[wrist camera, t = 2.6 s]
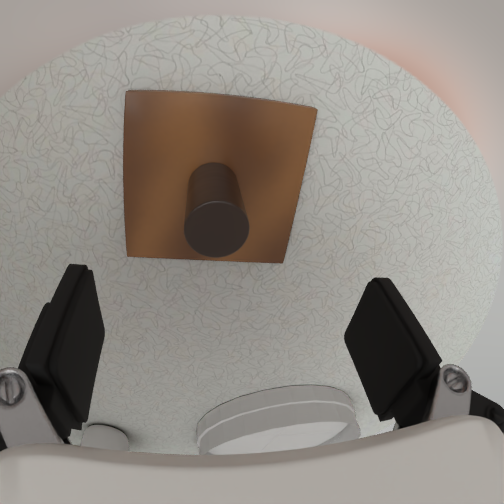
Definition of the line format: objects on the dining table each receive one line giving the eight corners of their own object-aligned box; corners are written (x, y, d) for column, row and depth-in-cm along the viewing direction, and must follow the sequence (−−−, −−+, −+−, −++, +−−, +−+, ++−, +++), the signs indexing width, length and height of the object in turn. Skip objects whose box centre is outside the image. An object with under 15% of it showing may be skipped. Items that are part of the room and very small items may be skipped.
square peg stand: (129, 250, 21) (111, 313, 16) (128, 89, 16) (94, 104, 10) (280, 257, 24) (303, 318, 18) (313, 107, 18) (358, 129, 13)
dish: (381, 383, 38) (394, 413, 34) (308, 450, 49) (314, 473, 45) (218, 379, 31) (223, 421, 27) (183, 450, 42) (185, 478, 38)
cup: (110, 449, 41) (108, 491, 34) (67, 432, 37) (61, 476, 30) (143, 433, 38) (142, 483, 31) (93, 414, 34) (86, 467, 27)
